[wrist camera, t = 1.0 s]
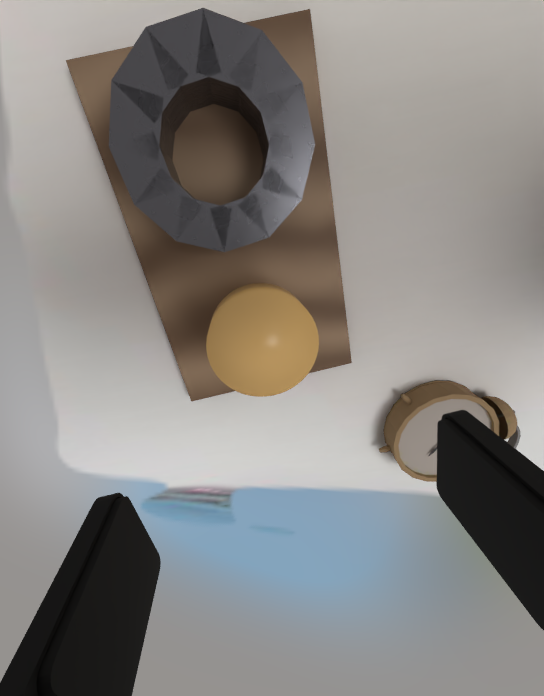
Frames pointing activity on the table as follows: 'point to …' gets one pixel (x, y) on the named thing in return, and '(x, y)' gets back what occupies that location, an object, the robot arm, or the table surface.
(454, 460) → the robot arm
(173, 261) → the mount
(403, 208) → the table surface
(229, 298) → the cap
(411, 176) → the table surface
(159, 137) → the grey faceted ring
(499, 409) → the alarm clock
